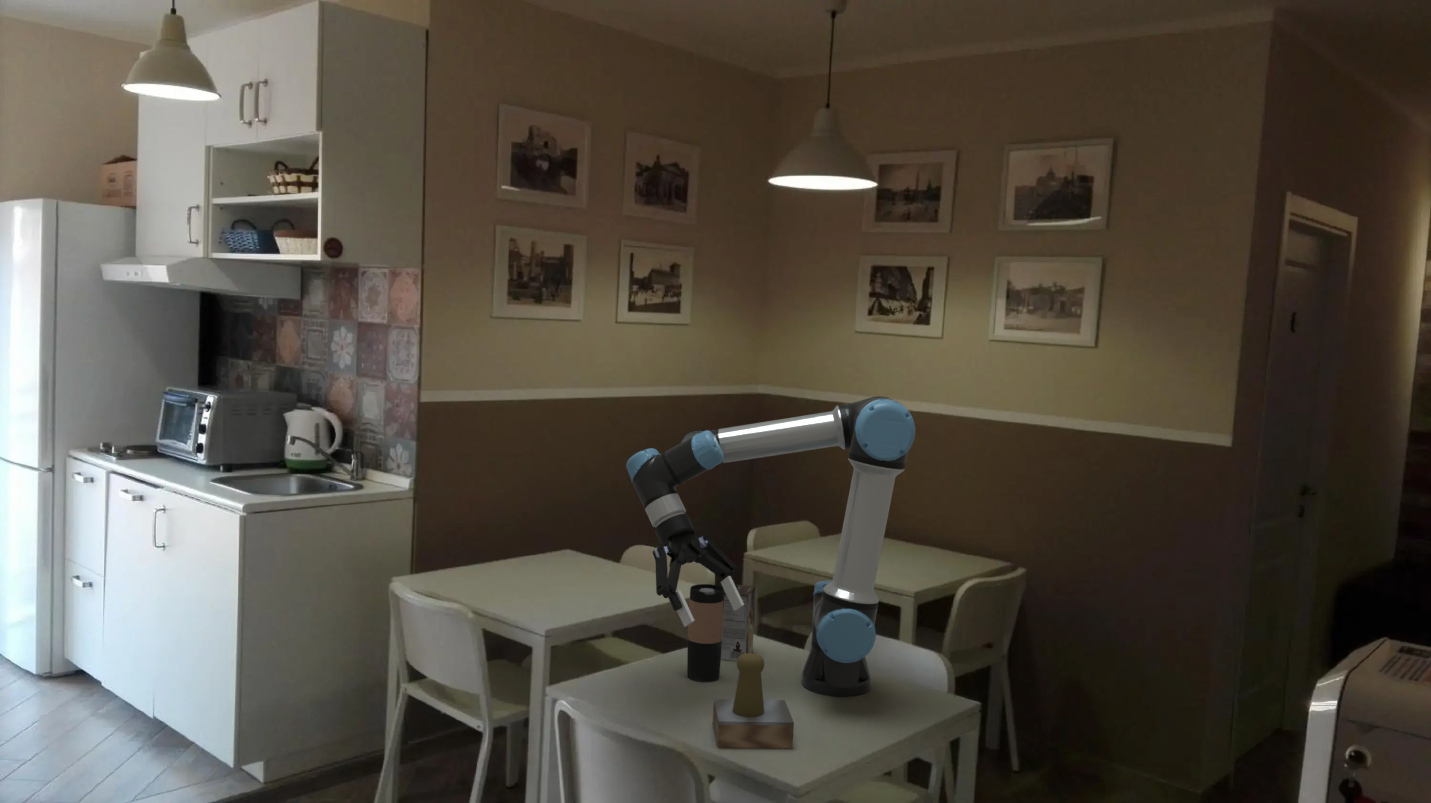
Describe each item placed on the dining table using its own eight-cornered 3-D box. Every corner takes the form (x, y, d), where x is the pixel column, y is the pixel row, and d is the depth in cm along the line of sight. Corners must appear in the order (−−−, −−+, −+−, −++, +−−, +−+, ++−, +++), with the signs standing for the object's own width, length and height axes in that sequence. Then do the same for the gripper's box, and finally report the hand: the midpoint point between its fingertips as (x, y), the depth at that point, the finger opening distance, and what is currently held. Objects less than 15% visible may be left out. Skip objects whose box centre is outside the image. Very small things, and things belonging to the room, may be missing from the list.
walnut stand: (783, 724, 213) (784, 699, 213) (792, 748, 201) (793, 722, 201) (712, 723, 212) (713, 698, 212) (717, 747, 200) (718, 721, 200)
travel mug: (699, 668, 245) (703, 582, 244) (727, 676, 241) (731, 588, 239) (679, 677, 239) (682, 587, 238) (707, 684, 235) (710, 594, 233)
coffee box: (727, 648, 262) (730, 583, 261) (753, 651, 261) (756, 585, 259) (719, 659, 253) (722, 592, 252) (746, 662, 252) (749, 594, 250)
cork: (732, 704, 209) (735, 649, 208) (763, 706, 209) (766, 650, 208) (732, 716, 203) (735, 658, 202) (764, 717, 203) (767, 660, 202)
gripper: (705, 518, 231) (748, 608, 224) (613, 540, 214) (657, 638, 207) (724, 502, 226) (769, 593, 219) (632, 523, 209) (677, 622, 202)
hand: (715, 615), depth 213 cm, fingers open, 13 cm apart
